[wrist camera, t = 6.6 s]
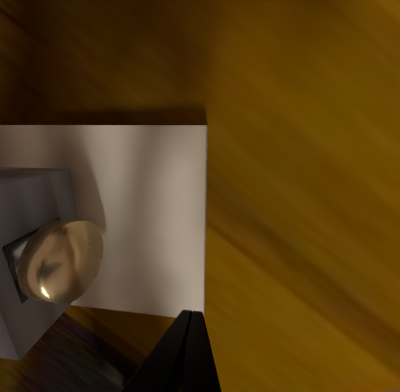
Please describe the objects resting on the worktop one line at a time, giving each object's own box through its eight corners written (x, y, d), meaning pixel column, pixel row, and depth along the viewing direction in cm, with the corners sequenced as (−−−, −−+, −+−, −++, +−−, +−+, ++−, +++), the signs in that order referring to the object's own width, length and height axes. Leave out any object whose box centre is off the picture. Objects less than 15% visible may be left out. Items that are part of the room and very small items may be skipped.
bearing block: (207, 125, 13) (185, 119, 6) (204, 311, 18) (190, 423, 11) (-67, 125, 16) (-298, 120, 9) (-4, 287, 21) (-121, 365, 14)
